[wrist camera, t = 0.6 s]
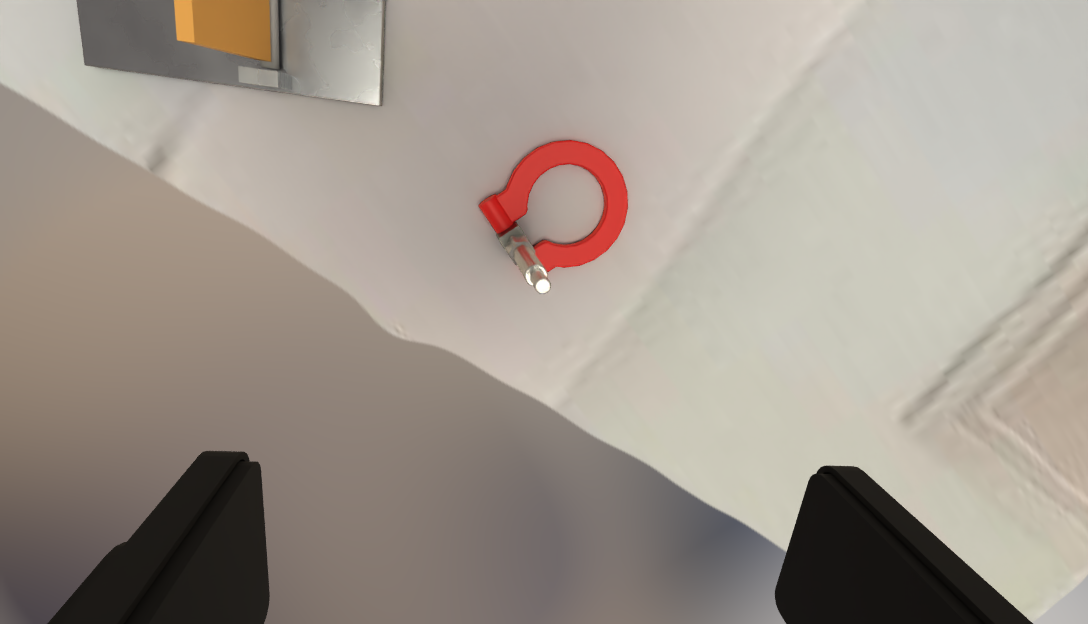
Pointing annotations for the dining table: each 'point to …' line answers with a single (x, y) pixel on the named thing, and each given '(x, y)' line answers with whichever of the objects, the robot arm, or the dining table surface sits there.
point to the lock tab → (231, 27)
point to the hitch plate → (304, 57)
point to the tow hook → (514, 206)
